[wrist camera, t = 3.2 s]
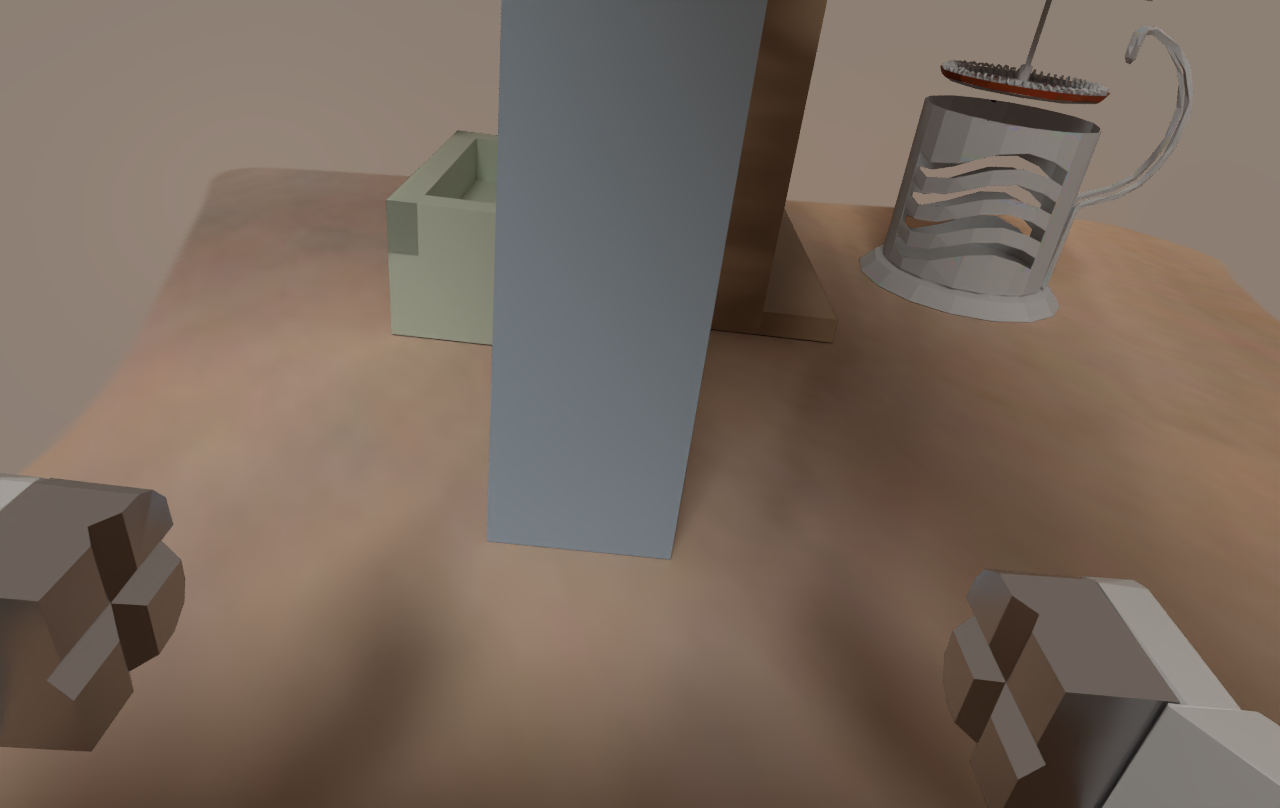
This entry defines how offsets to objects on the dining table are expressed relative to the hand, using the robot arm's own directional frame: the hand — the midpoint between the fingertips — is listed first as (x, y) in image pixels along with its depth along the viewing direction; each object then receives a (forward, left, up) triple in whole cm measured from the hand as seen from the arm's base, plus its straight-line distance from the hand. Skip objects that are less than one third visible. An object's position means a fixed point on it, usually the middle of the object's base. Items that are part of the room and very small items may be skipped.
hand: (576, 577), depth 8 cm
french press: (+18, +32, -8) cm, 37 cm away
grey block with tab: (0, +12, -7) cm, 14 cm away
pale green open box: (-3, +25, -7) cm, 26 cm away
